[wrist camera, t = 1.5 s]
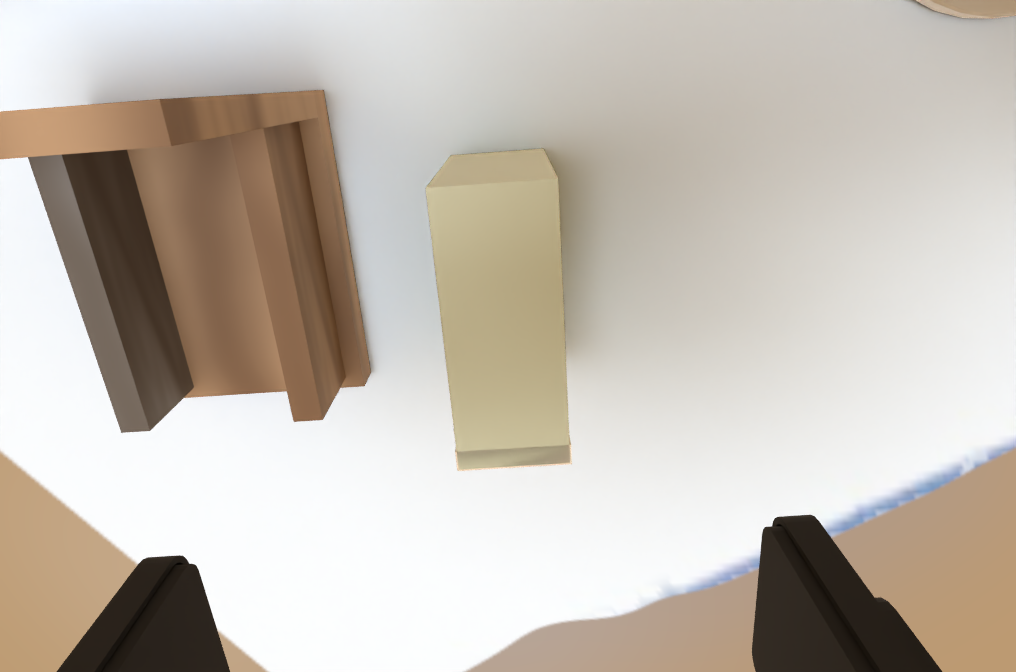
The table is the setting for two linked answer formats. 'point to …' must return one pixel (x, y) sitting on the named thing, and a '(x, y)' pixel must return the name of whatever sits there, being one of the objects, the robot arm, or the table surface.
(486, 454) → the beige rectangular block
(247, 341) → the shelf
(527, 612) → the table surface
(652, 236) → the table surface
